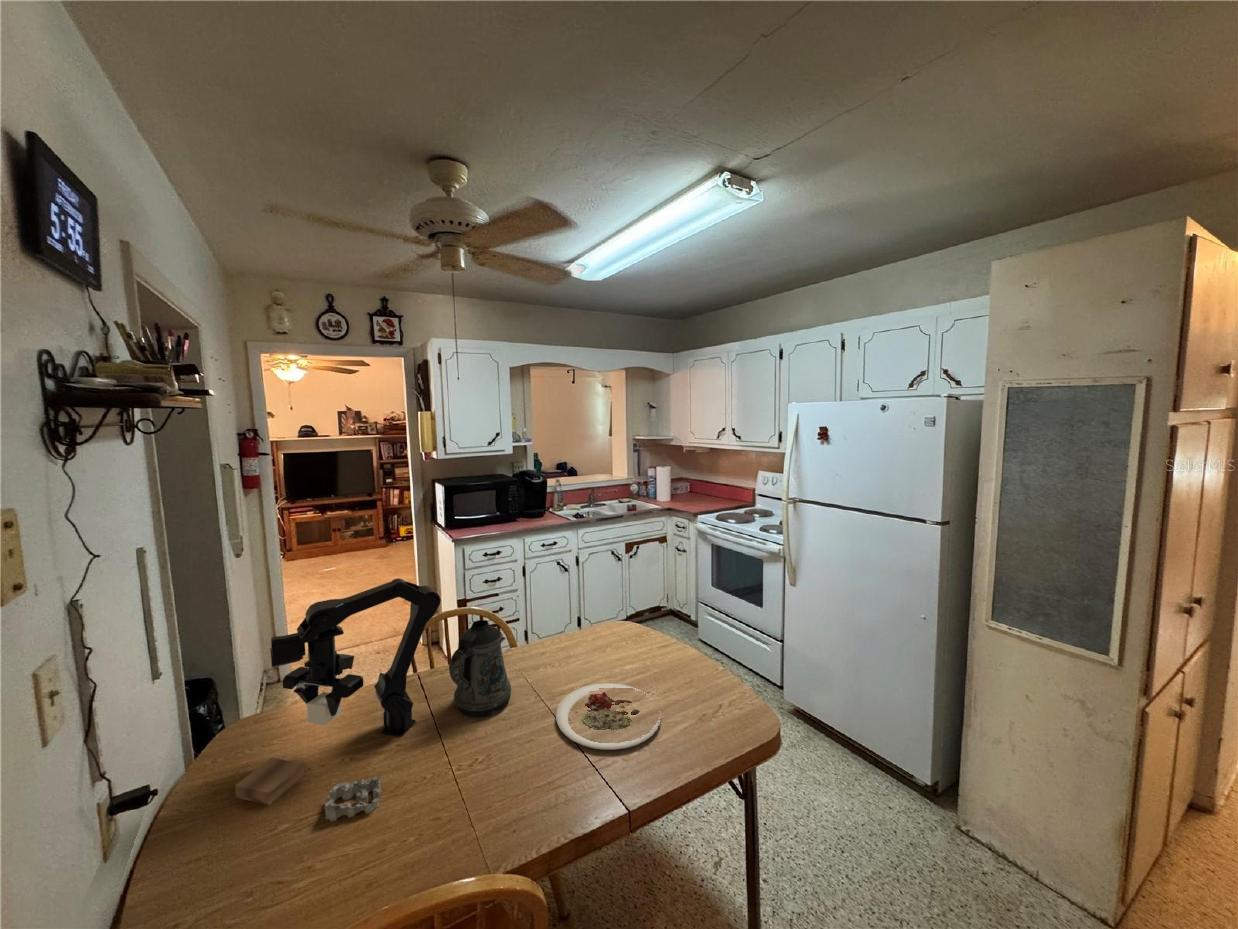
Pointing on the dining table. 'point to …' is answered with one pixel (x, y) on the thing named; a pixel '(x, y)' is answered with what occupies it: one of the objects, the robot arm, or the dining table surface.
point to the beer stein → (480, 672)
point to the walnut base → (269, 781)
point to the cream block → (320, 710)
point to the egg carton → (347, 792)
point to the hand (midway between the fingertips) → (324, 713)
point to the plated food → (599, 716)
